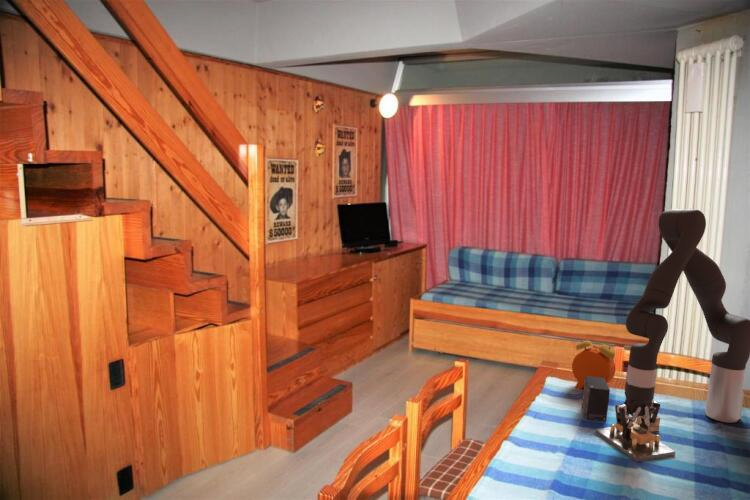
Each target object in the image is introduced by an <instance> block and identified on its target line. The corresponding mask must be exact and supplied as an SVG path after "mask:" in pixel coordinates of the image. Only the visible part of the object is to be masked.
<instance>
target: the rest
mask: <svg viewBox="0 0 750 500" xmlns="http://www.w3.org/2000/svg"><path fill="white" fill-rule="evenodd" d="M652 415H653V414H652ZM652 415H651V418H652ZM636 421H637V422H638V423H637V425H639V426H640V423H641V421H640V417H639V416H638V417H637V418H636ZM660 421H661V418H660V417H659V416H657V418H656V421H655V423H651V424H650V425H649V426H648V431H649V432H650V433H653V432H659V430H660V424H661V423H660Z"/></svg>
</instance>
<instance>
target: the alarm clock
mask: <svg viewBox="0 0 750 500" xmlns="http://www.w3.org/2000/svg"><path fill="white" fill-rule="evenodd" d="M589 334H590V335H593V333H592V332H589V333H587V334H586V335H587V336H586V338H588V337H589ZM594 335H595V336H597V334H596V333H594ZM598 336H601V337H602V335H600V334H598ZM603 337H604V339H605V340H604V343H603V344H600V345H599V346H597V345H593V343H592V342H591V341H590V340H587V339H586V340H583V339H581V342H578V343H577V344H576V346H575V349H576V351H579V350H582V351H580V352H579V353H577V354H576V355H575V356H574V358H573V360H572V363H571V369H572V374H573V376H574V378H575V379H576V380H577V383H575V386H574V388H575V389H578V390H581V389H584V383H585V376H590V377H598V378H604V379H605V381H606V383H607V384H608V383H610V382H611V381H612V380H613V378H614V377H615V373H616V364H615V362H614V361H615V360H614V357H615V355H616V353H615V350H614V349H613V348H612V347H611V346H610V345H608V344H606V342H607V339H606V338H607V337H606V336H605V335H604V336H603ZM591 346H592V347H591ZM588 347H589V348H588ZM583 349H584V350H583Z"/></svg>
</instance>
